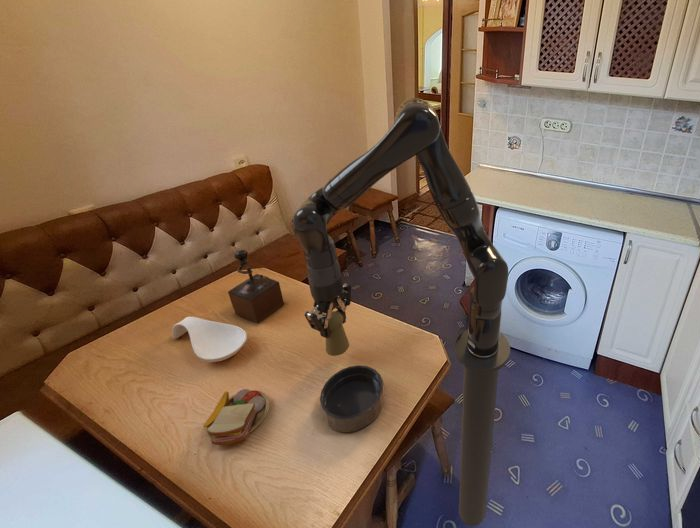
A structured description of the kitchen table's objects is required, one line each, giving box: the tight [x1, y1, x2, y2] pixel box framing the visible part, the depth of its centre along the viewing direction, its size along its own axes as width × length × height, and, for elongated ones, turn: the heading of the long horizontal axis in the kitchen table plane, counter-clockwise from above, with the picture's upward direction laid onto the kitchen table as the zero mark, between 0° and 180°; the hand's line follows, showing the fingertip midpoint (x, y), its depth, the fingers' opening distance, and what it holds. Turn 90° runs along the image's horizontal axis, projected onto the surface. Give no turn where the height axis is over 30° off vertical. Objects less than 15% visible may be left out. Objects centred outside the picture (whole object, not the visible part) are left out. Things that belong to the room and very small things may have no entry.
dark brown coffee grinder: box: [227, 249, 285, 325], centre depth 112 cm, size 16×11×18 cm
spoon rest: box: [171, 316, 248, 363], centre depth 99 cm, size 24×12×7 cm, turn 70°
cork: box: [322, 310, 350, 357], centre depth 94 cm, size 6×6×11 cm
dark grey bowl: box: [319, 364, 385, 433], centre depth 85 cm, size 14×14×5 cm
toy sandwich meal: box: [202, 388, 270, 446], centre depth 81 cm, size 12×14×5 cm
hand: (334, 328), depth 94 cm, fingers closed on cork, 5 cm apart
